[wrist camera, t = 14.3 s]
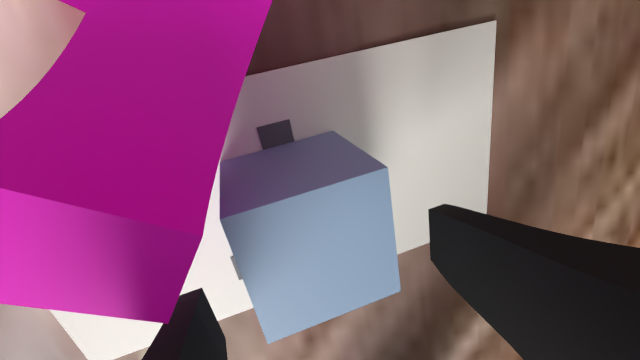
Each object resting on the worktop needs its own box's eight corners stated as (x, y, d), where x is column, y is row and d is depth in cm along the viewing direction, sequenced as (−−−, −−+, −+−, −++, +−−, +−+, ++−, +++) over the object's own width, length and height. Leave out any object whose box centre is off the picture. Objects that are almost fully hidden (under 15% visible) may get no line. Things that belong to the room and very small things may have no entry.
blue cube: (349, 224, 16) (400, 291, 11) (253, 257, 15) (268, 343, 10) (333, 130, 14) (387, 167, 9) (219, 161, 13) (219, 219, 8)
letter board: (483, 220, 19) (486, 222, 19) (95, 362, 15) (93, 367, 14) (492, 20, 14) (497, 20, 14) (-71, 146, 10) (-78, 149, 10)
